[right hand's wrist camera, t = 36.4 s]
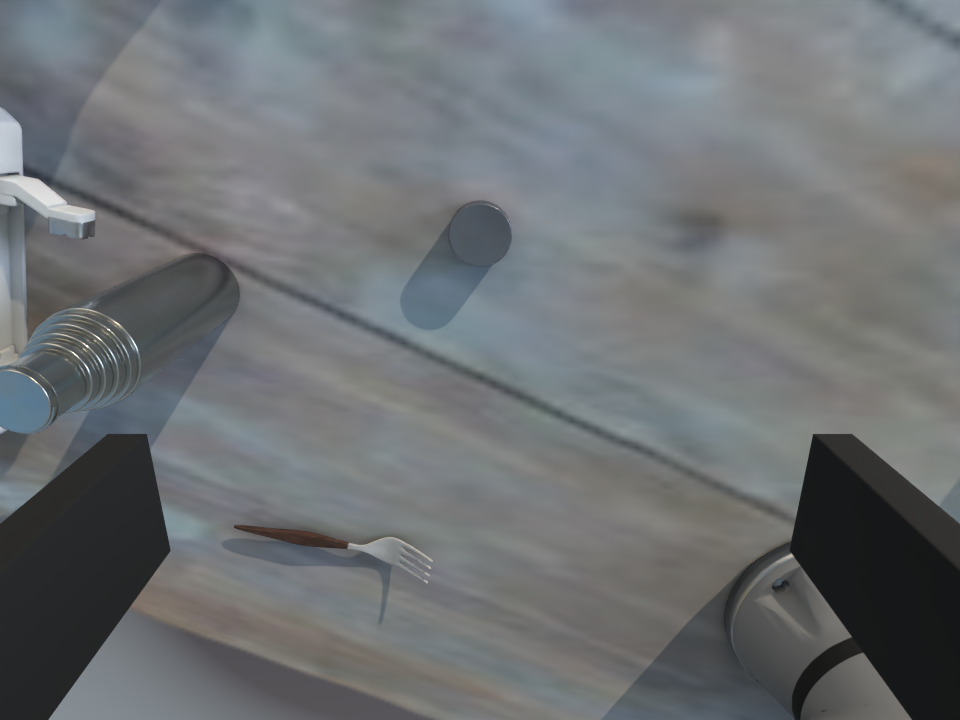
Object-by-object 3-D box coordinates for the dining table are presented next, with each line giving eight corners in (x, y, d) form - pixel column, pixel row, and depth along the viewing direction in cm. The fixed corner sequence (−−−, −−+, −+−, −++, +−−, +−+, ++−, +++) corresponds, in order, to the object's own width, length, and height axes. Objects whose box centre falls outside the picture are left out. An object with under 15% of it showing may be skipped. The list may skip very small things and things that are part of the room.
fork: (237, 508, 51) (228, 523, 49) (434, 543, 52) (433, 559, 50) (235, 535, 51) (225, 551, 50) (429, 569, 53) (427, 585, 51)
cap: (518, 211, 43) (520, 215, 41) (499, 269, 44) (500, 274, 42) (460, 192, 42) (459, 195, 41) (442, 250, 44) (441, 255, 42)
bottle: (159, 312, 45) (-52, 438, 27) (170, 243, 43) (-48, 327, 25) (232, 334, 46) (71, 471, 28) (246, 266, 44) (84, 365, 26)
